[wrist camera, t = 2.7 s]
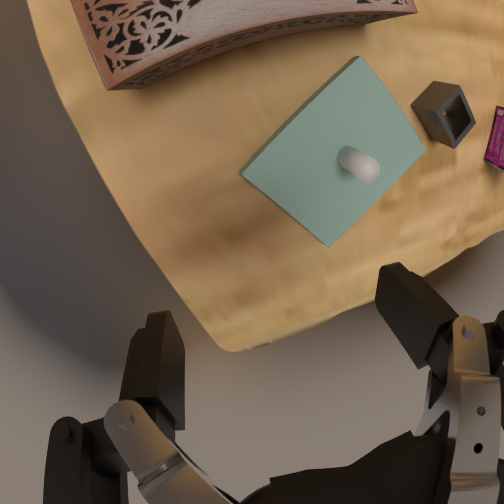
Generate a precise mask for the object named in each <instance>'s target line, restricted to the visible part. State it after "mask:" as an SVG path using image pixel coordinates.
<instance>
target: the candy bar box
mask: <svg viewBox="0 0 504 504" xmlns="http://www.w3.org/2000/svg"><path fill="white" fill-rule="evenodd" d="M484 160H486V161H487V162H488V163H490V164H491V165H492V166H493V167H495V168H496V169H498V170H500V171H501V172H503V173H504V108H503V107H500V106H497V109H496V114H495V119H494V123H493V128H492V132H491V136H490V140H489V144H488V147H487V151H486V154H485V157H484Z"/></svg>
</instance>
